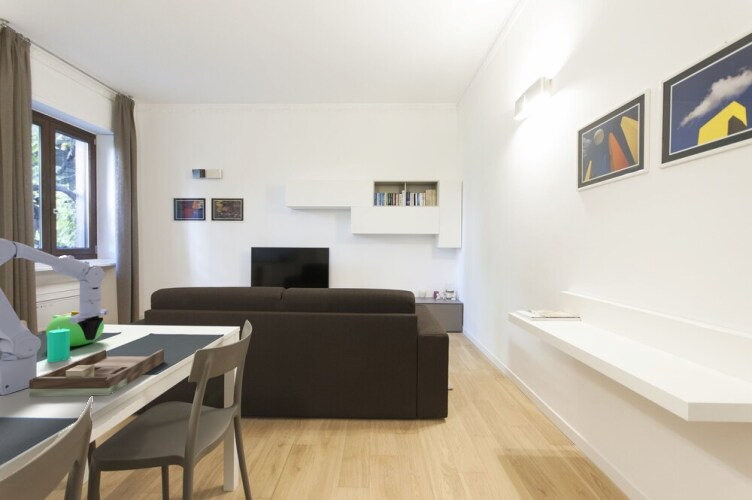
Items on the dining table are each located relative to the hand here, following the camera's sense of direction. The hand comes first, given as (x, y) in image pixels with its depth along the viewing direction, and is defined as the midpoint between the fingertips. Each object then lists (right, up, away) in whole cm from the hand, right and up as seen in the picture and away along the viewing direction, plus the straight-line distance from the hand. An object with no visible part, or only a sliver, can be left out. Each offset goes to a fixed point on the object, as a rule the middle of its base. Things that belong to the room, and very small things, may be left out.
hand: (90, 339), depth 118 cm
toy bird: (-26, -9, +25) cm, 37 cm away
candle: (-18, -9, +7) cm, 21 cm away
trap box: (+12, -10, -8) cm, 17 cm away
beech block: (+13, -8, -19) cm, 24 cm away
